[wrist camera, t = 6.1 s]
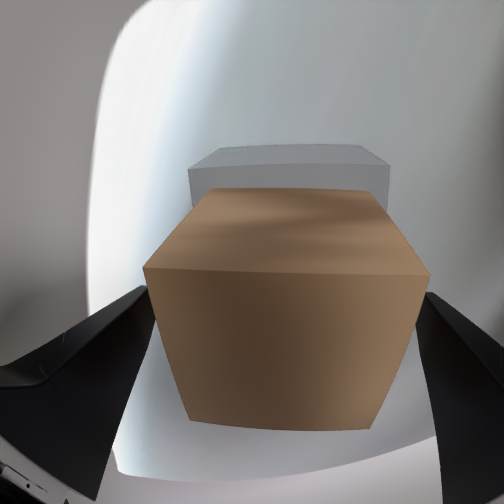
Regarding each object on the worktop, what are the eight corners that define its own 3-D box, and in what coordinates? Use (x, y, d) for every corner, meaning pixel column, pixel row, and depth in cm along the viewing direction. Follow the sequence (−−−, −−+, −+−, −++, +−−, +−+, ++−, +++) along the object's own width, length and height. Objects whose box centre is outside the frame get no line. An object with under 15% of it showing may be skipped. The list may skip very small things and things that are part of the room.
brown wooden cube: (369, 190, 10) (430, 275, 5) (351, 317, 12) (369, 428, 7) (211, 188, 10) (142, 267, 6) (223, 313, 13) (189, 420, 8)
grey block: (359, 145, 14) (389, 165, 9) (353, 269, 17) (369, 326, 12) (219, 148, 15) (187, 169, 10) (232, 269, 18) (212, 325, 13)
